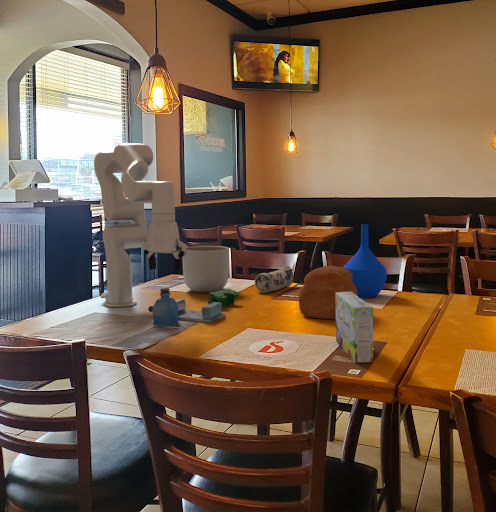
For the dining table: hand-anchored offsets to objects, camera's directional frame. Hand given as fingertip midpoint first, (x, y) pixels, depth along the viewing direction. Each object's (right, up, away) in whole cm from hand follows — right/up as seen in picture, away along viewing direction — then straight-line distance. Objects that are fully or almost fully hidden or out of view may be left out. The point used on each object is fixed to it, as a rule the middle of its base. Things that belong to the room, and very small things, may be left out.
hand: (165, 269), depth 188 cm
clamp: (+18, -15, +30) cm, 38 cm away
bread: (+57, -16, +15) cm, 61 cm away
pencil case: (+40, -11, +63) cm, 75 cm away
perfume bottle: (0, -19, +2) cm, 19 cm away
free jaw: (-2, -16, +15) cm, 22 cm away
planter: (+9, -11, +63) cm, 65 cm away
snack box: (+57, -22, -32) cm, 69 cm away
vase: (+76, -12, +47) cm, 90 cm away
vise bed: (+8, -17, +11) cm, 22 cm away
